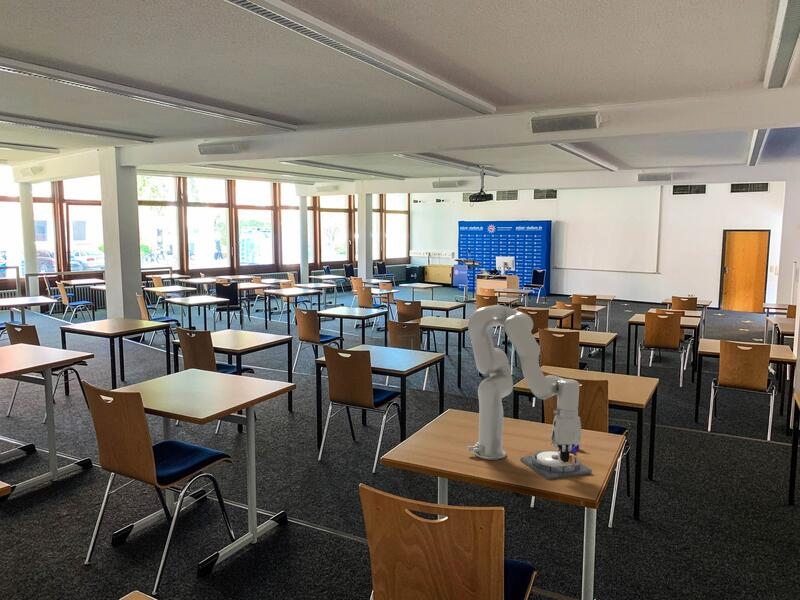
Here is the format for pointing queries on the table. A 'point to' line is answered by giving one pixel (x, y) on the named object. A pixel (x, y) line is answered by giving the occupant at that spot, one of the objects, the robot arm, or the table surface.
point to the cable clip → (573, 449)
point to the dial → (554, 459)
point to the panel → (556, 474)
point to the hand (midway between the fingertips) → (564, 460)
